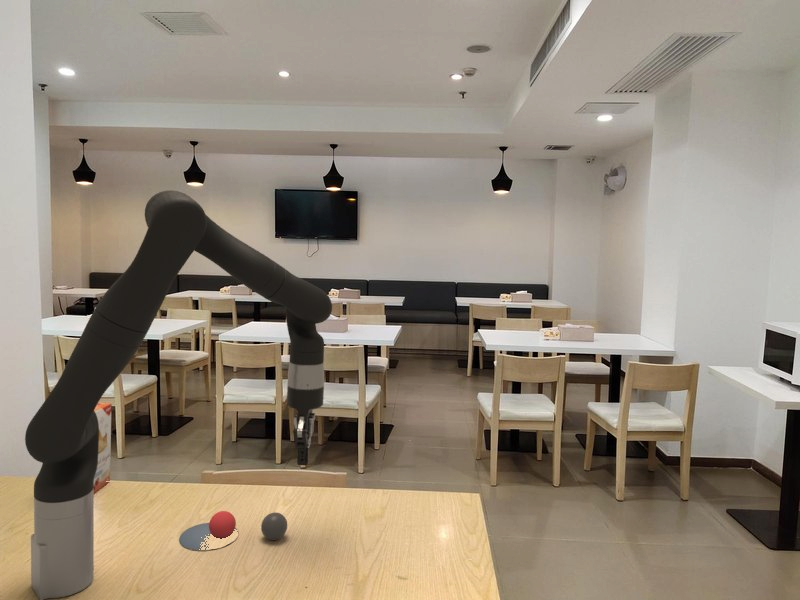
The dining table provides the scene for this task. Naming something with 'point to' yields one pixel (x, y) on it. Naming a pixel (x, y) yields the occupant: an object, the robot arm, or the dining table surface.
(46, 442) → the robot arm
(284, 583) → the dining table surface
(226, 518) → the red ball
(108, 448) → the cracker box
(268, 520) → the gray ball
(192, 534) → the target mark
